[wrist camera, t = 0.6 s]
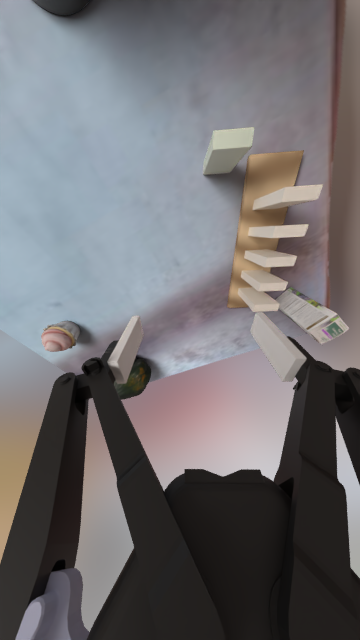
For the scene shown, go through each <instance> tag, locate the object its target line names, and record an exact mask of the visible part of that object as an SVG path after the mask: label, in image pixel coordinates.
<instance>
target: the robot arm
mask: <svg viewBox="0 0 360 640" xmlns="http://www.w3.org/2000/svg"><path fill="white" fill-rule="evenodd" d="M33 1H34V2H36V3H37V4H38V5H39V6H41V7H42V8H44V9H46V10H48V11H49V12H52V13H54V14H58V15H70V14H74V13H76V12H78V11H80V10H81V9H82V8H83V7H84V6H85V5H86V4H87V3H88V2H89V1H90V0H33ZM250 333H251V334H252V336H253V337H254V339H255V340H256V342H257V343H258V345H259V346H260V348H261V349H262V351H263V352H264V354H265V355H266V357H267V359H268V360H269V362H270V363H271V364H272V366H273V368H274V369H275V371H276V372H277V374H278V375H279V377H280V378H281V380H282V381H283V382H285V381H293V379H294V378H295V377H296V379H297V380H298V382H297V383H296V385H295V386H294V388H293V389H295V393H294V398H293V403H292V408H291V412H290V417H289V422H288V427H287V432H286V437H285V441H284V446H283V451H282V456H281V461H280V465H279V469H278V471H277V473H276V475H275V478H274V482H273V481H272V480H270V479H268V478H267V477H265V476H263V475H262V474H261V471H260V470H239V471H237V472H234V473H232V474H229V475H227V476H224V477H222V476H219V475H217V474H214V473H211V472H209V471H206V470H203V469H185V473H184V474H182V475H180V476H179V477H176V478H175V479H174V480H173V481H172V482H171V483H170V484H169V485H168V487H167V488H166V489H165V491H163V488H162V486H161V485H160V482H159V480H158V478H157V476H156V474H155V472H154V470H153V468H152V465H151V463H150V461H149V459H148V457H147V455H146V453H145V451H144V448H143V446H142V444H141V442H140V440H139V438H138V436H137V433H136V431H135V429H134V427H133V425H132V423H131V421H130V418H129V416H128V414H127V412H126V410H125V408H124V406H123V403H122V401H121V399H120V397H119V395H118V393H117V391H116V388H115V386H114V382H115V380H116V382H117V384H126V382H127V380H128V377H129V374H130V371H131V369H132V366H133V363H134V360H135V357H136V355H137V352H138V349H139V346H140V343H141V341H142V338H143V335H144V334H143V330H142V325H141V321H140V317H139V316H132V318H131V320H130V322H129V323H128V325H127V327H126V329H125V331H124V332H123V334H122V336H121V338H120V340H119V341H113V342H112V343H111V344H110V345H109V346H108V348H107V350H106V351H105V353H104V354H103V356H102V358H101V359H100V358H97V357H95V358H91V359H89V360H87V361H86V362H85V363H84V364H83V365H82V370H83V372H84V374H81V375H77V376H76V375H75V374H74V373H71V372H70V373H66V374H63V375H62V376H60V377H59V378H58V379H57V380H56V381H55V383H54V386H53V389H52V392H51V396H50V399H49V402H48V406H47V409H46V412H45V415H44V419H43V422H42V426H41V429H40V432H39V436H38V439H37V442H36V446H35V449H34V453H33V456H32V459H31V463H30V466H29V469H28V473H27V476H26V479H25V483H24V486H23V490H22V493H21V496H20V499H19V503H18V506H17V510H16V513H15V516H14V520H13V523H12V526H11V530H10V533H9V536H8V540H7V543H6V547H5V550H4V553H3V557H2V560H1V564H0V640H360V578H359V577H358V576H357V575H356V574H355V573H354V571H353V570H352V569H351V568H350V552H349V535H348V519H347V502H346V493H345V489H344V487H343V485H342V484H341V483H340V482H339V481H338V479H337V457H336V423H335V422H336V419H337V422H338V424H339V427H340V430H341V433H342V436H343V438H344V441H345V444H346V447H347V450H348V453H349V455H350V458H351V461H352V464H353V467H354V470H355V472H356V476H357V478H358V481H359V484H360V370H359V369H356V368H348V369H347V370H346V371H345V372H343V371H339V370H334V369H332V368H331V367H330V366H329V365H327V364H325V363H323V362H320V361H316V360H315V359H314V358H313V357H312V356H311V355H310V354H309V353H308V352H307V351H306V350H305V349H303V347H302V346H301V345H299V343H298V342H296V340H294V339H293V338H291V337H286V336H285V335H284V334H283V333H282V332H281V331H280V330H279V329H278V328H277V327H276V326H275V324H274V323H273V322H272V321H271V320H270V319H269V318H268V317H267V316H266V315H265V314H264V313H263V312H256V314H255V317H254V321H253V324H252V328H251V331H250ZM90 398H93V400H94V403H95V407H96V410H97V413H98V416H99V420H100V423H101V427H102V430H103V433H104V436H105V440H106V443H107V446H108V449H109V453H110V456H111V460H112V463H113V466H114V469H115V473H116V476H117V488H118V492H119V496H120V499H121V503H122V506H123V509H124V513H125V517H126V520H127V523H128V527H129V530H130V534H131V537H132V541H133V544H134V549H133V551H132V553H131V555H130V556H129V558H128V560H127V562H126V564H125V566H124V568H123V570H122V572H121V573H120V575H119V577H118V579H117V581H116V583H115V585H114V586H113V588H112V590H111V592H110V594H109V596H108V598H107V599H106V602H105V603H104V605H103V607H102V609H101V611H100V613H99V615H98V616H97V618H96V620H95V622H94V624H93V627H92V628H91V631H90V632H89V631H88V630H87V629H86V628H85V627H84V624H83V621H82V616H81V602H82V590H83V582H82V576H81V574H80V572H79V571H78V570H77V569H76V568H74V566H75V561H76V555H77V549H78V543H79V534H80V524H81V508H82V493H83V477H84V461H85V446H86V430H87V414H88V399H90ZM335 416H336V419H335Z"/></svg>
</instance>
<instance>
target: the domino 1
mask: <svg viewBox="0 0 360 640" xmlns="http://www.w3.org/2000/svg"><path fill="white" fill-rule="evenodd" d="M253 134H254V127H251V128H239V129H228V130H217V131H213V134H212V138H211V141H210V144H209V147H208V150H207V153H206V157H205V160H204V163H203V175H209V174H222V173H230V172H231V171H232V170H233V168H234V167H235V166H236V165H237V164H238V162H239V161H240V160H241V159H242V158H243V156H244V155H245V154H246V153H247V152H248V150H249V149H250V148H251V147H252V141H253Z"/></svg>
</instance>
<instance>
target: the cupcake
mask: <svg viewBox="0 0 360 640" xmlns="http://www.w3.org/2000/svg"><path fill="white" fill-rule="evenodd" d="M43 330H44V332H43V333H42V336H41V337H42V343H43V345H44V347H45V350H48V351H50V352H56V351H63V350H66V349H68V348H72V346H75V345H76V342H77V339H78V337H79V335H80V328H79V327H78V326H77V325H76V324H75V323H73V322H71V321H62V322H60V323H57V324H54V325H48V326H47V328H45V329H43Z"/></svg>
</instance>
